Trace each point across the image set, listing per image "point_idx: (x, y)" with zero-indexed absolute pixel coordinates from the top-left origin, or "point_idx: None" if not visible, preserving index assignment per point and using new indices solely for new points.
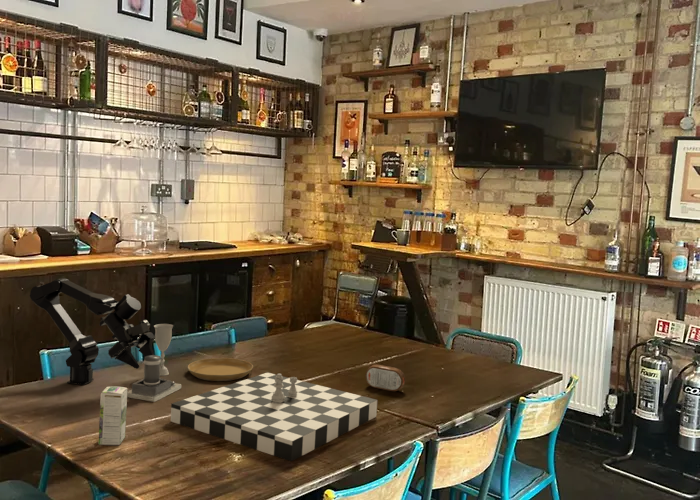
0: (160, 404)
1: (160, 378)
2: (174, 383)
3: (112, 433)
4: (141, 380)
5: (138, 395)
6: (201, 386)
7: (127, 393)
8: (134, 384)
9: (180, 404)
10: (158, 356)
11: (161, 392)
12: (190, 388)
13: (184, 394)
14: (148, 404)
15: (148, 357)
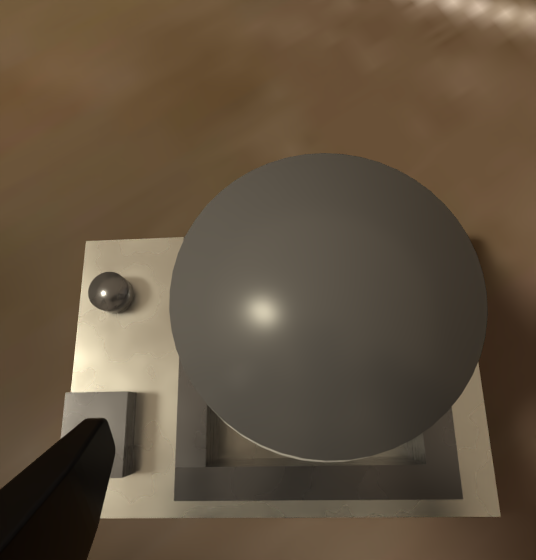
0: (465, 177)
1: (63, 435)
2: (113, 274)
3: None
4: (317, 480)
5: (477, 372)
6: (7, 166)
7: (495, 490)
8: (457, 465)
9: None
10: (217, 228)
11: None
12: (74, 201)
13: (208, 165)
14: (513, 242)
15: (387, 348)
